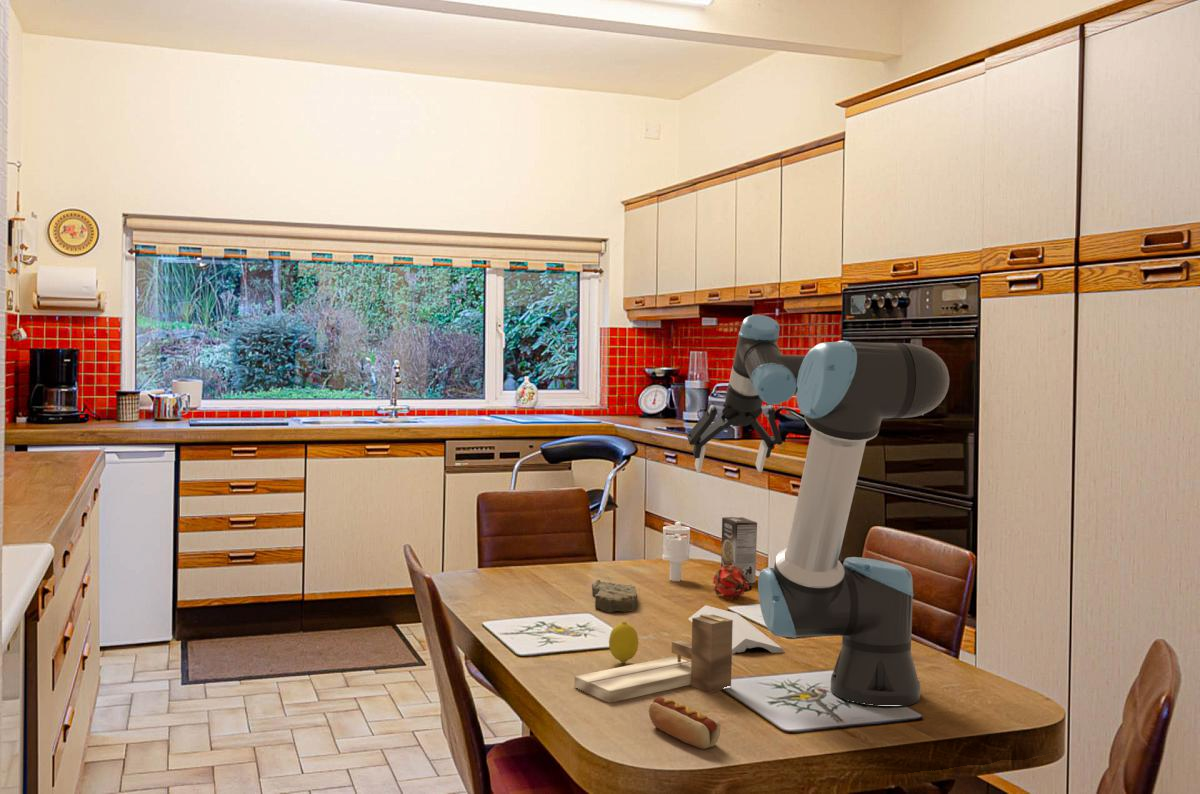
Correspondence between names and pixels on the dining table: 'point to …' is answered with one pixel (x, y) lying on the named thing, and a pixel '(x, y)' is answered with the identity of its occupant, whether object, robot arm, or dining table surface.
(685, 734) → the food
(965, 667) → the dining table surface
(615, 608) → the stone slab
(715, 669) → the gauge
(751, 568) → the coffee box
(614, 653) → the lemon
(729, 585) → the dragon fruit
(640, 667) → the board
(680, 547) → the white stepped cylinder
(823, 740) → the dining table surface
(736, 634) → the crown molding
